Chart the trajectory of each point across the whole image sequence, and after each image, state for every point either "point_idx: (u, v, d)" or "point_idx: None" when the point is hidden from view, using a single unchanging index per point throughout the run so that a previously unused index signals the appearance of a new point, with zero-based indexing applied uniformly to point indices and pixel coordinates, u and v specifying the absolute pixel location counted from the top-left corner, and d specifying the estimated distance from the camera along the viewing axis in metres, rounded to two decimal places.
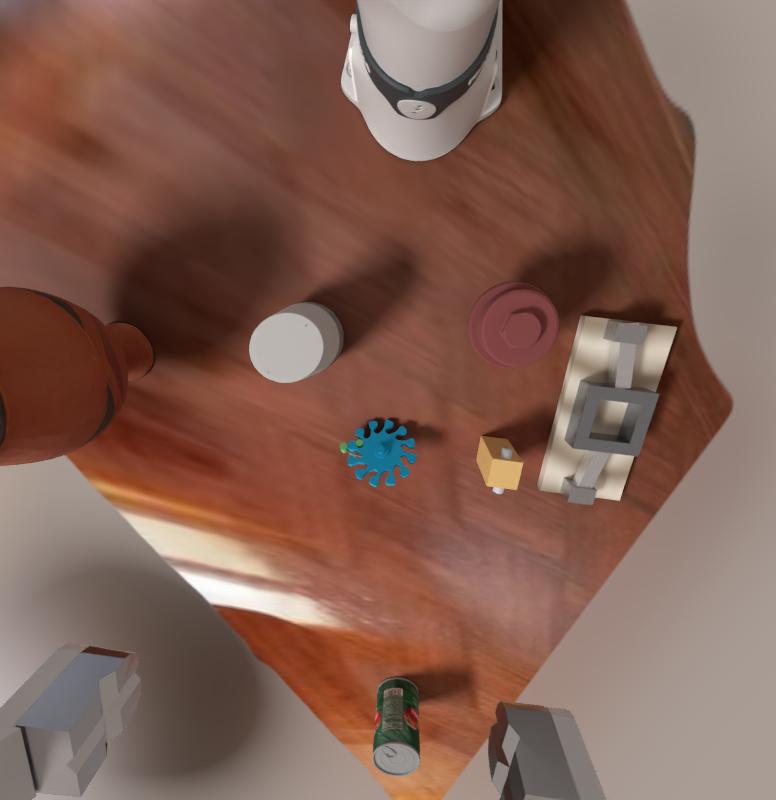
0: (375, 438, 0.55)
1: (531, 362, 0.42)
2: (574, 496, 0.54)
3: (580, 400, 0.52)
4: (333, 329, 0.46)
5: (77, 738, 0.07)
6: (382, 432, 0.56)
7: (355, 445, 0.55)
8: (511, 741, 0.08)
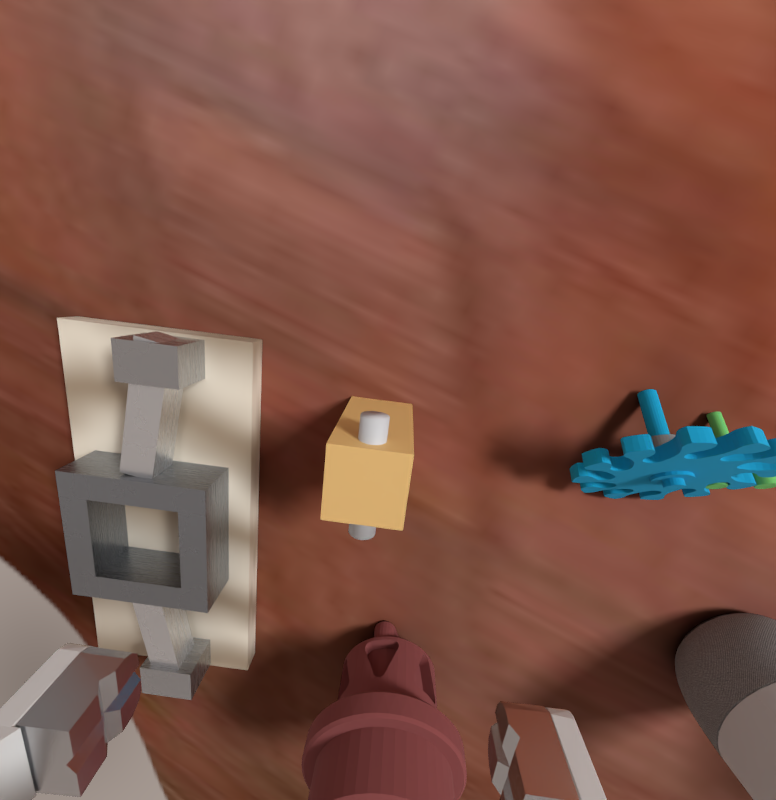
0: None
1: None
2: (164, 362, 0.20)
3: (218, 565, 0.25)
4: (745, 780, 0.22)
5: (76, 738, 0.07)
6: (641, 490, 0.24)
7: (732, 484, 0.21)
8: (511, 741, 0.08)
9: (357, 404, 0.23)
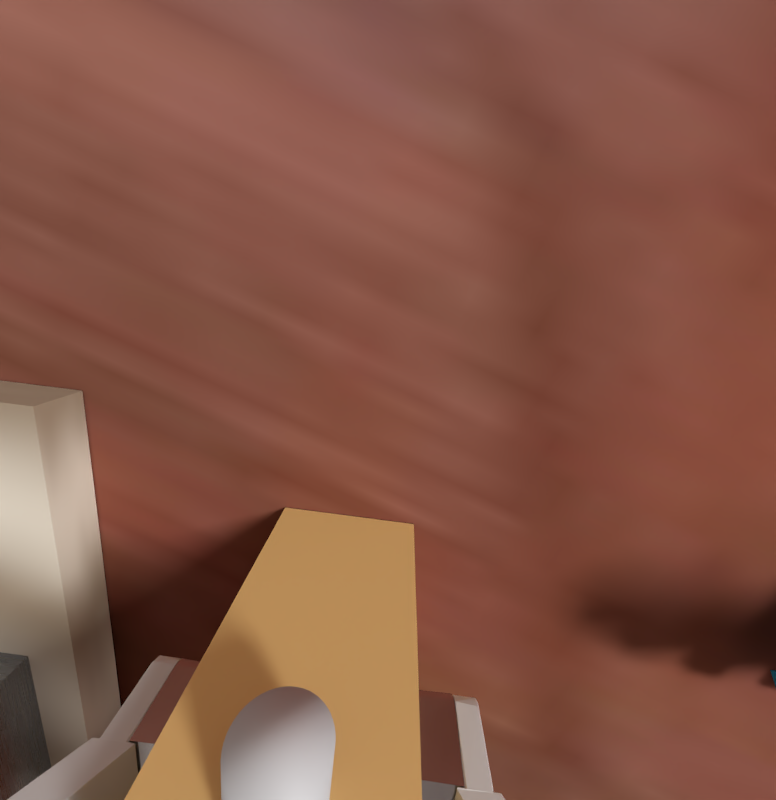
0: None
1: None
2: None
3: None
4: None
5: None
6: None
7: None
8: None
9: (288, 543, 0.10)
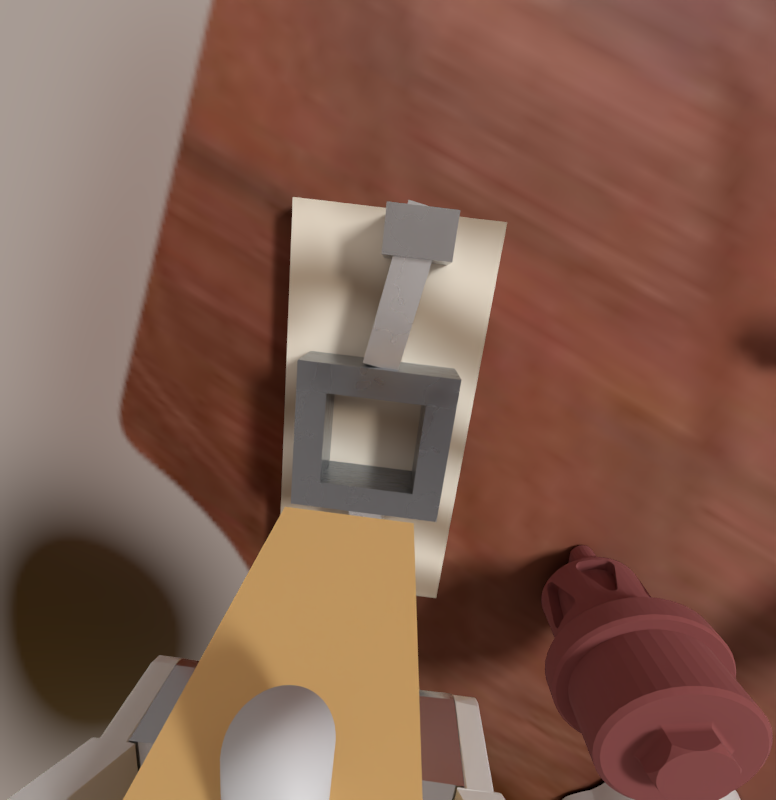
0: None
1: (663, 694, 0.18)
2: (441, 230, 0.19)
3: None
4: None
5: None
6: None
7: None
8: None
9: (288, 542, 0.10)
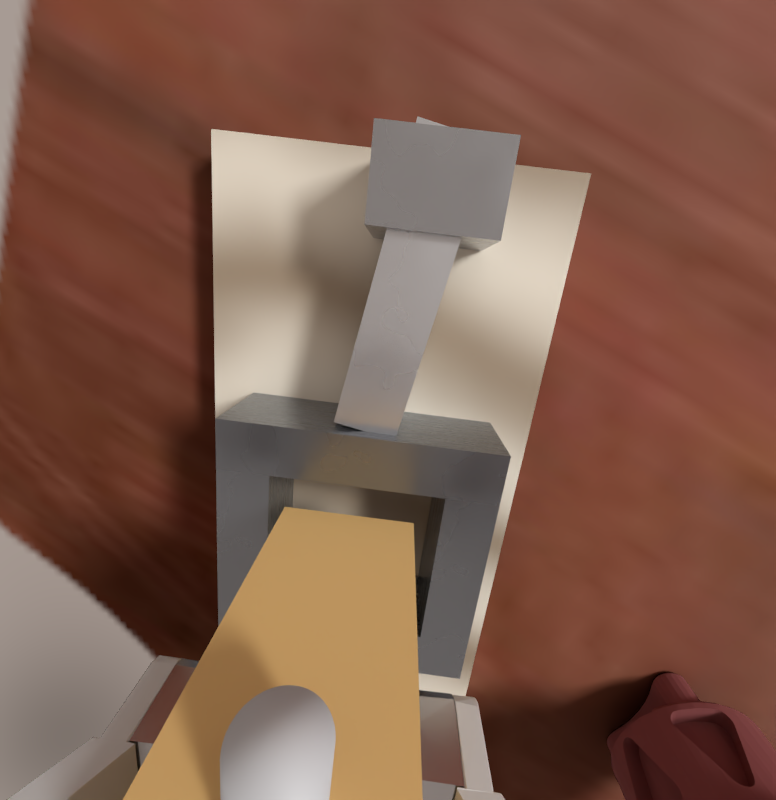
0: None
1: None
2: (482, 176, 0.10)
3: None
4: None
5: None
6: None
7: None
8: None
9: (288, 542, 0.10)
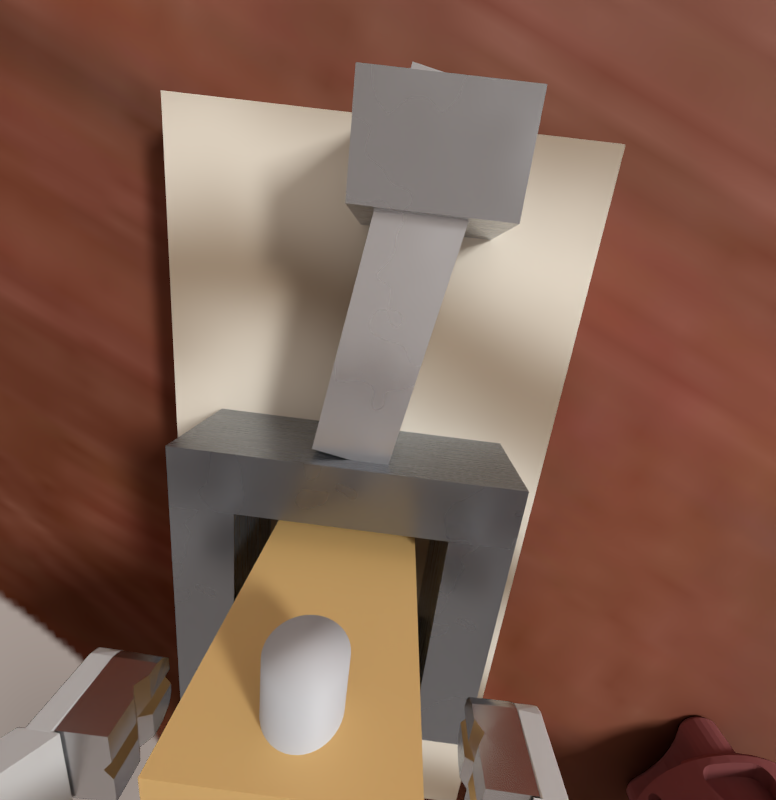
0: None
1: None
2: (497, 140, 0.07)
3: None
4: None
5: (114, 743, 0.07)
6: None
7: None
8: (476, 736, 0.08)
9: None
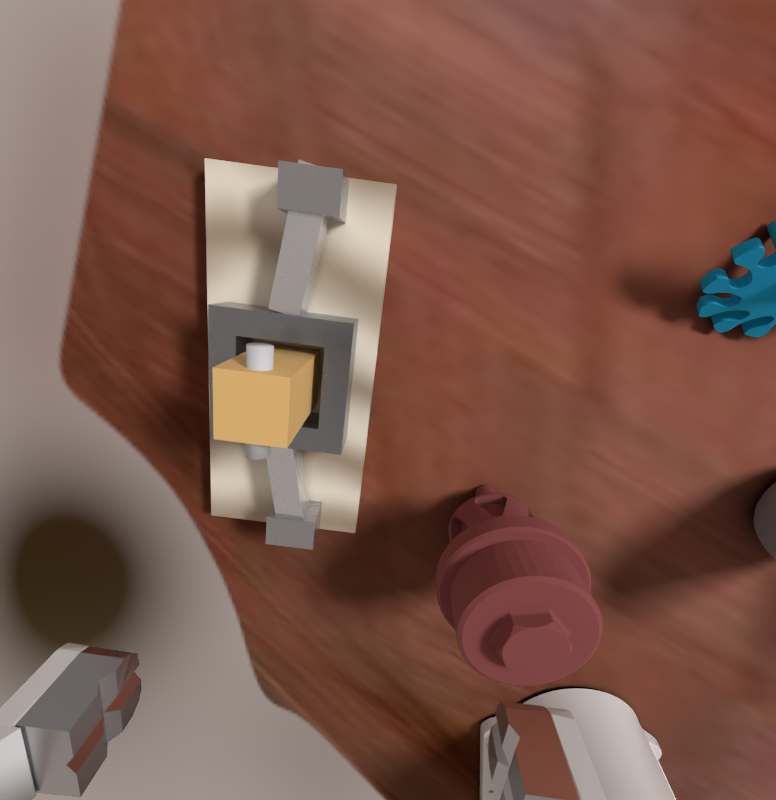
0: None
1: (508, 583, 0.21)
2: (328, 187, 0.21)
3: (347, 413, 0.27)
4: None
5: (77, 737, 0.07)
6: (756, 315, 0.25)
7: None
8: (511, 741, 0.08)
9: None
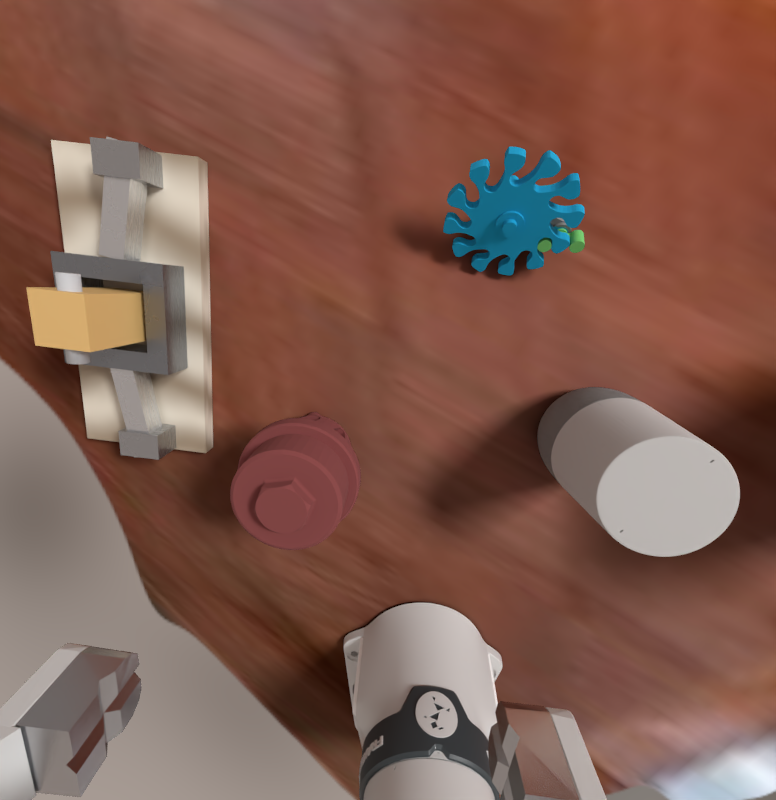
0: (512, 247, 0.30)
1: (259, 456, 0.27)
2: (129, 156, 0.28)
3: (176, 343, 0.33)
4: (562, 477, 0.30)
5: (77, 738, 0.07)
6: (495, 254, 0.31)
7: (553, 243, 0.29)
8: (511, 741, 0.08)
9: (106, 288, 0.32)
